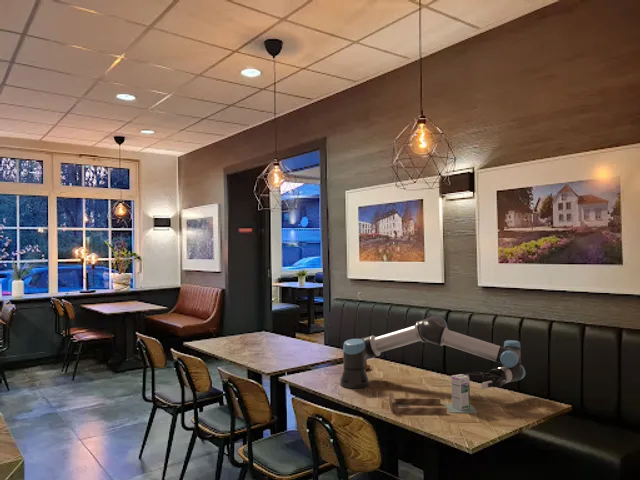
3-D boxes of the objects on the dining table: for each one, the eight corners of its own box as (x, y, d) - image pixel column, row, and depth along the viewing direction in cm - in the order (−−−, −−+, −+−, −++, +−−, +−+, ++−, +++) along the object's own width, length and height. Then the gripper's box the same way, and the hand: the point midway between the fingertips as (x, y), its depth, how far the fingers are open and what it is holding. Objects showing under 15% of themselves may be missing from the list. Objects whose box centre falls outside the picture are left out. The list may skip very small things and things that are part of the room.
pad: (450, 412, 217) (450, 412, 217) (444, 404, 229) (444, 403, 229) (478, 413, 217) (478, 412, 217) (471, 404, 229) (471, 404, 229)
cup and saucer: (369, 372, 292) (369, 361, 293) (349, 371, 295) (349, 360, 295) (371, 367, 304) (371, 357, 304) (352, 366, 307) (352, 356, 307)
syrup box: (461, 410, 219) (460, 377, 220) (451, 407, 224) (451, 375, 225) (470, 408, 222) (470, 376, 222) (460, 405, 227) (460, 373, 228)
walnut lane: (392, 413, 217) (392, 402, 217) (389, 403, 232) (389, 392, 232) (446, 414, 216) (446, 402, 216) (439, 403, 231) (439, 392, 231)
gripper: (523, 389, 226) (493, 397, 215) (478, 378, 247) (449, 384, 236) (522, 373, 227) (492, 380, 215) (478, 363, 248) (449, 369, 236)
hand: (470, 382), depth 225 cm, fingers open, 13 cm apart
